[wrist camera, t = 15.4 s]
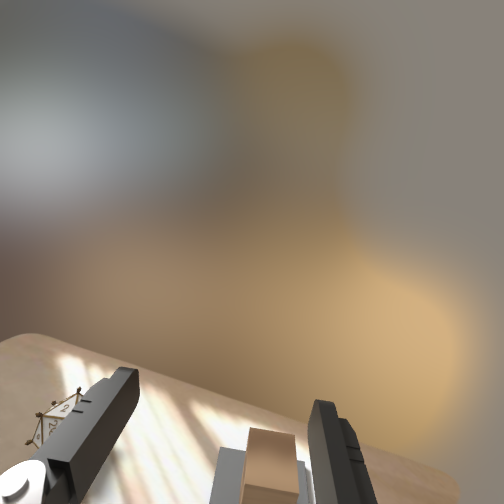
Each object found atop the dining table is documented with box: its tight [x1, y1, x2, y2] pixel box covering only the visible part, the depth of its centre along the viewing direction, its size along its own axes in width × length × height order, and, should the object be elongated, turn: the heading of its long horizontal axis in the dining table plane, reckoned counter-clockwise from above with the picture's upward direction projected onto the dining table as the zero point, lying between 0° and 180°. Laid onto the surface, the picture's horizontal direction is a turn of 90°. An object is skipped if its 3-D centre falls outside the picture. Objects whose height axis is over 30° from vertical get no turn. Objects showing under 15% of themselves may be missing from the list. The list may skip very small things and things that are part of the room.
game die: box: [24, 387, 83, 449], centre depth 34 cm, size 9×8×10 cm
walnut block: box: [239, 427, 299, 504], centre depth 28 cm, size 6×6×11 cm
